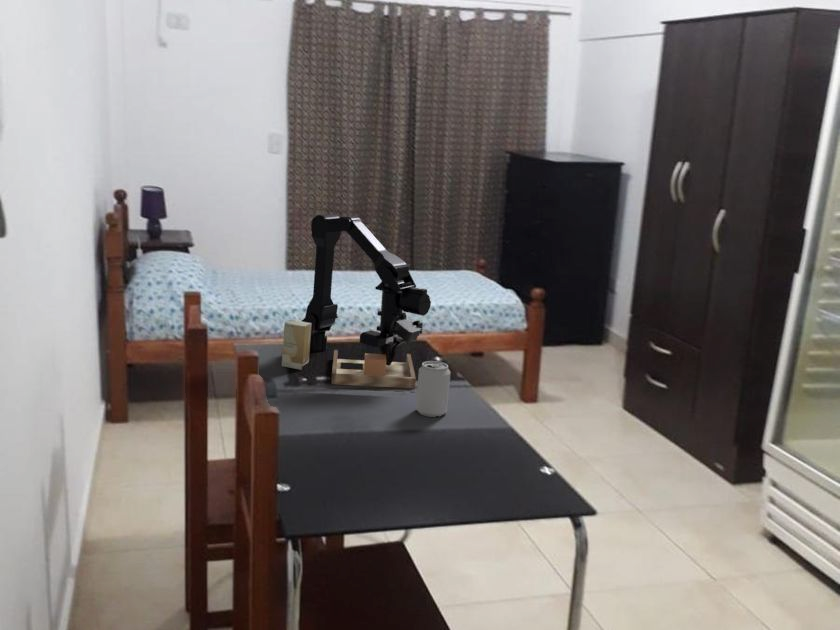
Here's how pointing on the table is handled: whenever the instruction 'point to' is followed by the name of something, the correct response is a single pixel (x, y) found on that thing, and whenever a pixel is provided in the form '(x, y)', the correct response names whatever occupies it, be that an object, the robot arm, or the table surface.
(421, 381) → the can
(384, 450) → the table surface
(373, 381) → the tray
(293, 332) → the skincare box
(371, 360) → the rust block
